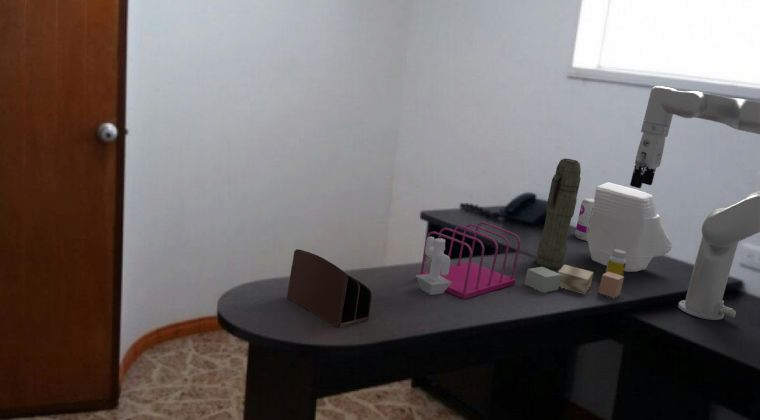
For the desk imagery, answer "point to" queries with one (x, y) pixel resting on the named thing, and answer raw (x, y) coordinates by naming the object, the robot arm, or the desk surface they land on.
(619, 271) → the supplement bottle
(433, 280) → the figurine
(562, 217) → the thermos
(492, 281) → the file sorter
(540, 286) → the sage block
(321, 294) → the letter holder
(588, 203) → the supplement can
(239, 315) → the desk surface
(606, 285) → the terracotta block
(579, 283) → the maple block
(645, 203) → the white rounded piece
